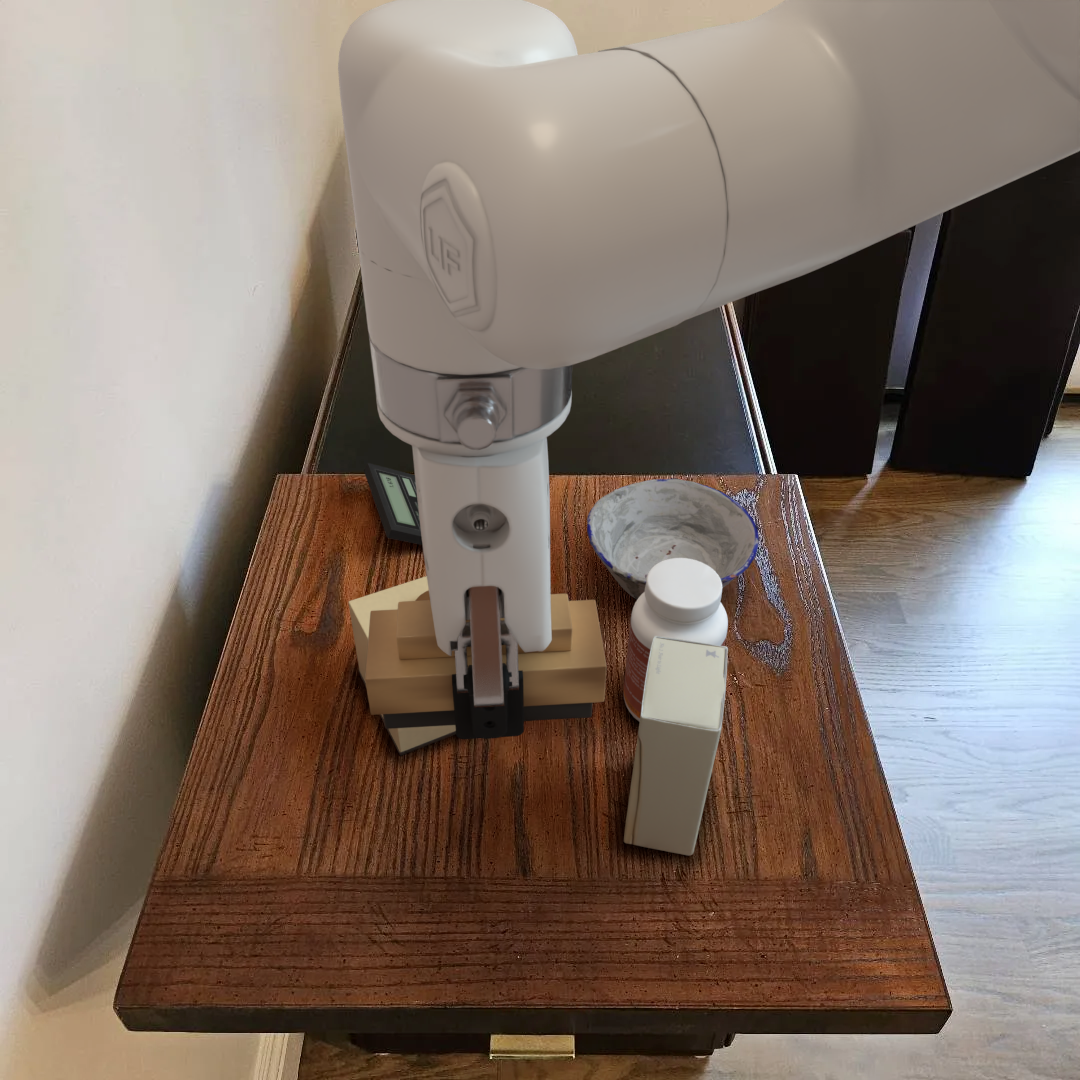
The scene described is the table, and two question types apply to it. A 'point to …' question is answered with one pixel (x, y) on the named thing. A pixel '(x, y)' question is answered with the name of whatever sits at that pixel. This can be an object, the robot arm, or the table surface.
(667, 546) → the bowl
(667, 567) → the pill bottle
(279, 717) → the table surface
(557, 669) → the brush
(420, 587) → the bread box
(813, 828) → the table surface
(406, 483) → the calculator
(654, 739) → the cosmetic box
